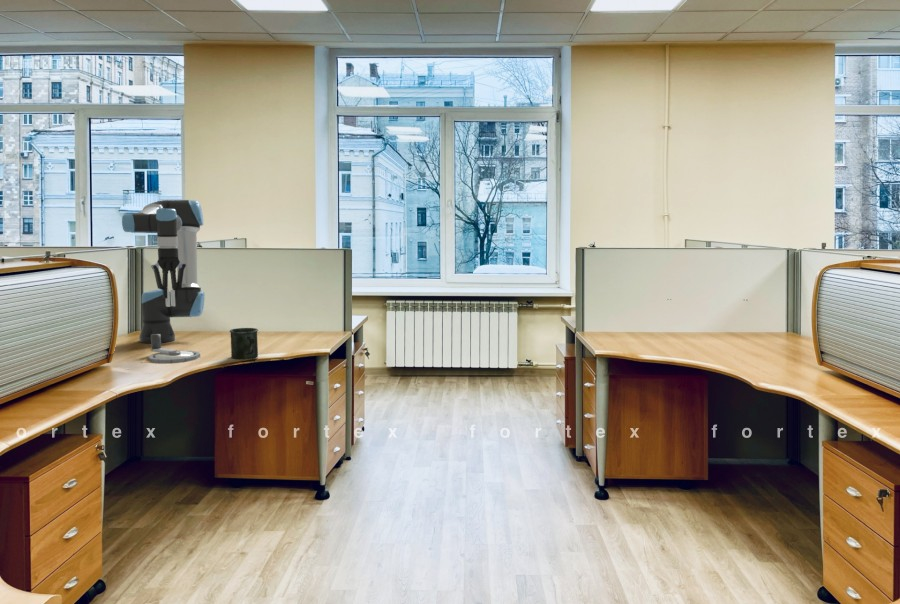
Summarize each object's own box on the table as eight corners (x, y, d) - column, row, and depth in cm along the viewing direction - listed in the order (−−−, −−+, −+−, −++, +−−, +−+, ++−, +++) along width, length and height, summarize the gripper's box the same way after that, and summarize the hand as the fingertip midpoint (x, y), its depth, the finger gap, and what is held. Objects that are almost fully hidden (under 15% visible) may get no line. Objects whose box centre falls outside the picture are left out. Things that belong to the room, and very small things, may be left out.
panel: (126, 367, 265) (126, 361, 265) (155, 354, 291) (155, 348, 291) (196, 367, 265) (195, 361, 265) (218, 354, 291) (218, 349, 291)
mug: (252, 356, 288) (251, 326, 287) (267, 361, 277) (266, 331, 275) (226, 359, 281) (225, 329, 280) (240, 365, 270) (238, 334, 269)
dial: (201, 356, 280) (200, 335, 279) (171, 362, 268) (170, 341, 267) (168, 352, 290) (167, 331, 289) (138, 357, 278) (137, 336, 277)
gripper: (182, 246, 290) (184, 304, 293) (146, 247, 281) (149, 306, 284) (189, 247, 285) (192, 305, 288) (152, 248, 275) (155, 308, 278)
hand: (170, 306), depth 286 cm, fingers closed
